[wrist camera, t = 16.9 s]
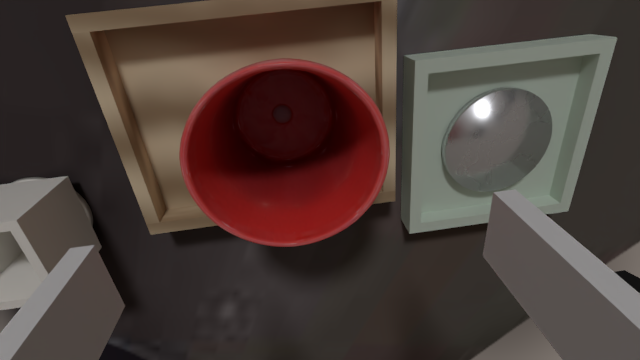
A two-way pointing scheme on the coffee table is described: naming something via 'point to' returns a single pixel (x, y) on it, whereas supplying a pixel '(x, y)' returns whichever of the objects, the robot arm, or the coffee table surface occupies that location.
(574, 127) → the pale green square tray
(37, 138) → the coffee table surface
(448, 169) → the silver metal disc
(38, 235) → the white faceted planter
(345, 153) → the flower pot
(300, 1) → the wooden tray
